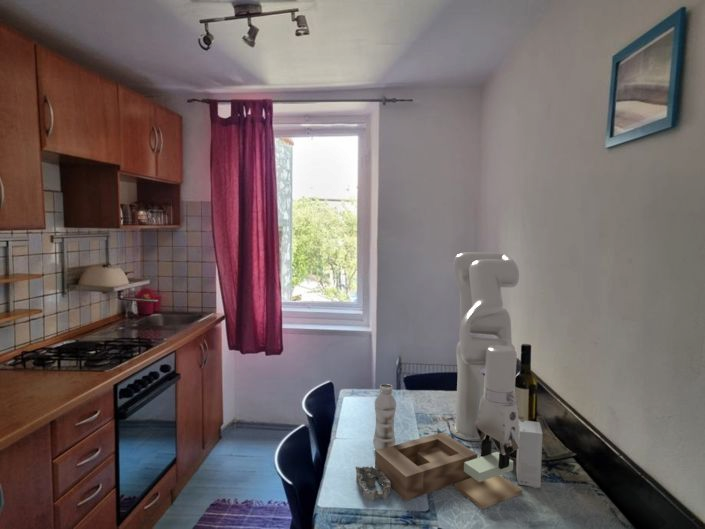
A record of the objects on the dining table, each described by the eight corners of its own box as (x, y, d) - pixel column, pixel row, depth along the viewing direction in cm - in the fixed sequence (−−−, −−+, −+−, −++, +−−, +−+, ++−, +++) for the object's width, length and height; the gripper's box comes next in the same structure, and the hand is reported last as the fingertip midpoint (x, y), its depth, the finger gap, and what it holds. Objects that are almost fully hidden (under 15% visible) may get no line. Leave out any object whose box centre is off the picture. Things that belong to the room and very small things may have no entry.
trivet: (492, 473, 122) (492, 470, 122) (521, 493, 113) (522, 489, 113) (453, 487, 115) (454, 483, 115) (482, 509, 106) (482, 505, 106)
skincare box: (540, 489, 115) (544, 434, 114) (516, 484, 117) (519, 431, 116) (537, 472, 123) (541, 421, 122) (514, 468, 125) (518, 417, 124)
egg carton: (392, 500, 109) (392, 484, 109) (362, 503, 108) (363, 487, 107) (380, 475, 120) (381, 461, 119) (353, 478, 118) (354, 463, 118)
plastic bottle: (393, 457, 129) (396, 391, 127) (371, 454, 130) (373, 388, 129) (396, 446, 135) (398, 383, 134) (374, 443, 137) (376, 381, 135)
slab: (496, 460, 119) (497, 451, 119) (512, 470, 114) (513, 461, 114) (463, 471, 113) (464, 462, 113) (479, 482, 108) (479, 473, 108)
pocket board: (442, 452, 132) (443, 432, 132) (476, 476, 120) (477, 454, 120) (374, 472, 121) (375, 450, 120) (404, 501, 109) (406, 476, 108)
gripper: (536, 404, 107) (531, 474, 109) (484, 381, 122) (480, 443, 124) (515, 409, 104) (510, 482, 105) (464, 385, 118) (460, 449, 120)
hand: (494, 460), depth 115 cm, fingers closed on slab, 5 cm apart
